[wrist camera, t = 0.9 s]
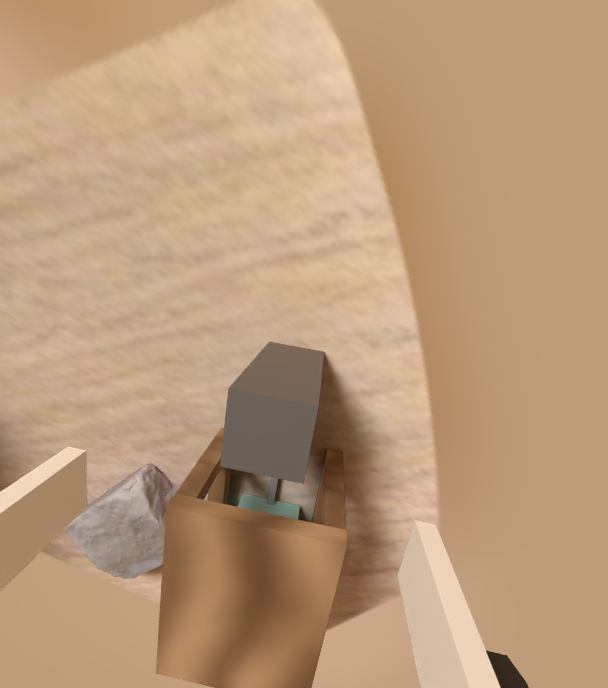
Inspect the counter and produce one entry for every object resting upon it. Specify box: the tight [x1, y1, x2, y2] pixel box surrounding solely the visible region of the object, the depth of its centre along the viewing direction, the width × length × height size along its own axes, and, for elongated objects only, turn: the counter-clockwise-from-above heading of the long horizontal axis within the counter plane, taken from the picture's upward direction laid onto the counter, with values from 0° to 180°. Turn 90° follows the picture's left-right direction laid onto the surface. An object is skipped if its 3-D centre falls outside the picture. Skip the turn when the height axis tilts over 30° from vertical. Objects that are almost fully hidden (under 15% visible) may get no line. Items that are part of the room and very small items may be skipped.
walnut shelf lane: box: [156, 428, 347, 688], centre depth 27 cm, size 12×16×10 cm
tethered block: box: [220, 342, 324, 520], centre depth 25 cm, size 6×22×11 cm, turn 170°
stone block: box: [64, 464, 178, 579], centre depth 32 cm, size 12×5×10 cm
